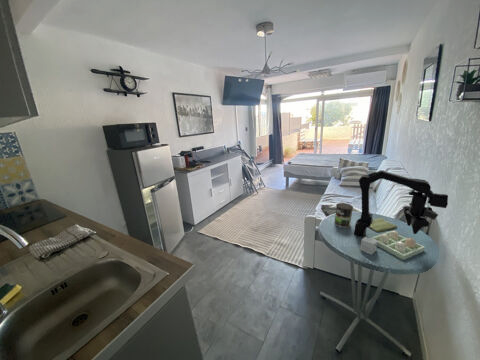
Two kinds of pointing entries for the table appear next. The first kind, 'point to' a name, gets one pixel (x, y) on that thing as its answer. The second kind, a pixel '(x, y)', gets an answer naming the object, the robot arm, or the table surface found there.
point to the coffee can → (343, 215)
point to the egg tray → (391, 249)
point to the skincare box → (368, 245)
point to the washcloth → (381, 225)
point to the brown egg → (410, 243)
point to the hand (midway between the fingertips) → (411, 229)
